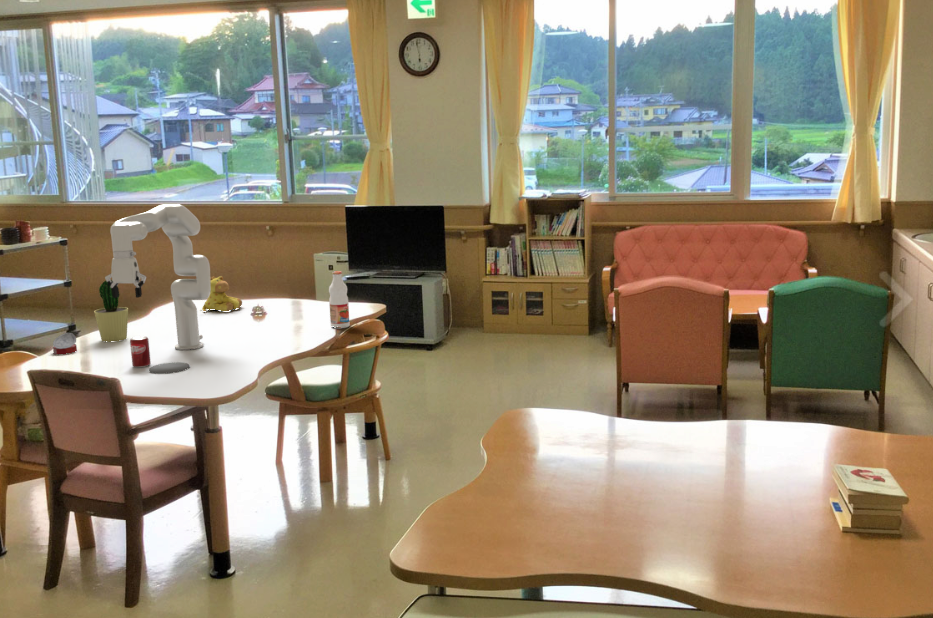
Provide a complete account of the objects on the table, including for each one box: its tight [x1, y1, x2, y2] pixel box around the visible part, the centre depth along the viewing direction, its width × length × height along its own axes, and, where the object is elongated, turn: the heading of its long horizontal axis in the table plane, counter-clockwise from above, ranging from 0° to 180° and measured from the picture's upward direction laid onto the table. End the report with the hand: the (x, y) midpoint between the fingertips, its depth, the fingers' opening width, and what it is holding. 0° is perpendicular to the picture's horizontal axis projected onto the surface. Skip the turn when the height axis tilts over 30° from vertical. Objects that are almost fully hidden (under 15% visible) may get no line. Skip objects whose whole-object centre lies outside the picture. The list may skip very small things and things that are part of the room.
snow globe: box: [52, 332, 78, 355], centre depth 396 cm, size 11×10×10 cm
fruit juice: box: [328, 270, 351, 329], centre depth 433 cm, size 9×9×28 cm
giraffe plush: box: [201, 275, 243, 312], centre depth 493 cm, size 20×24×19 cm
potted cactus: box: [93, 279, 129, 343], centre depth 418 cm, size 15×15×30 cm
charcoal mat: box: [148, 361, 190, 374], centre depth 359 cm, size 16×16×1 cm
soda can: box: [129, 335, 152, 368], centre depth 364 cm, size 7×7×12 cm
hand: (127, 297), depth 350 cm, fingers open, 9 cm apart
